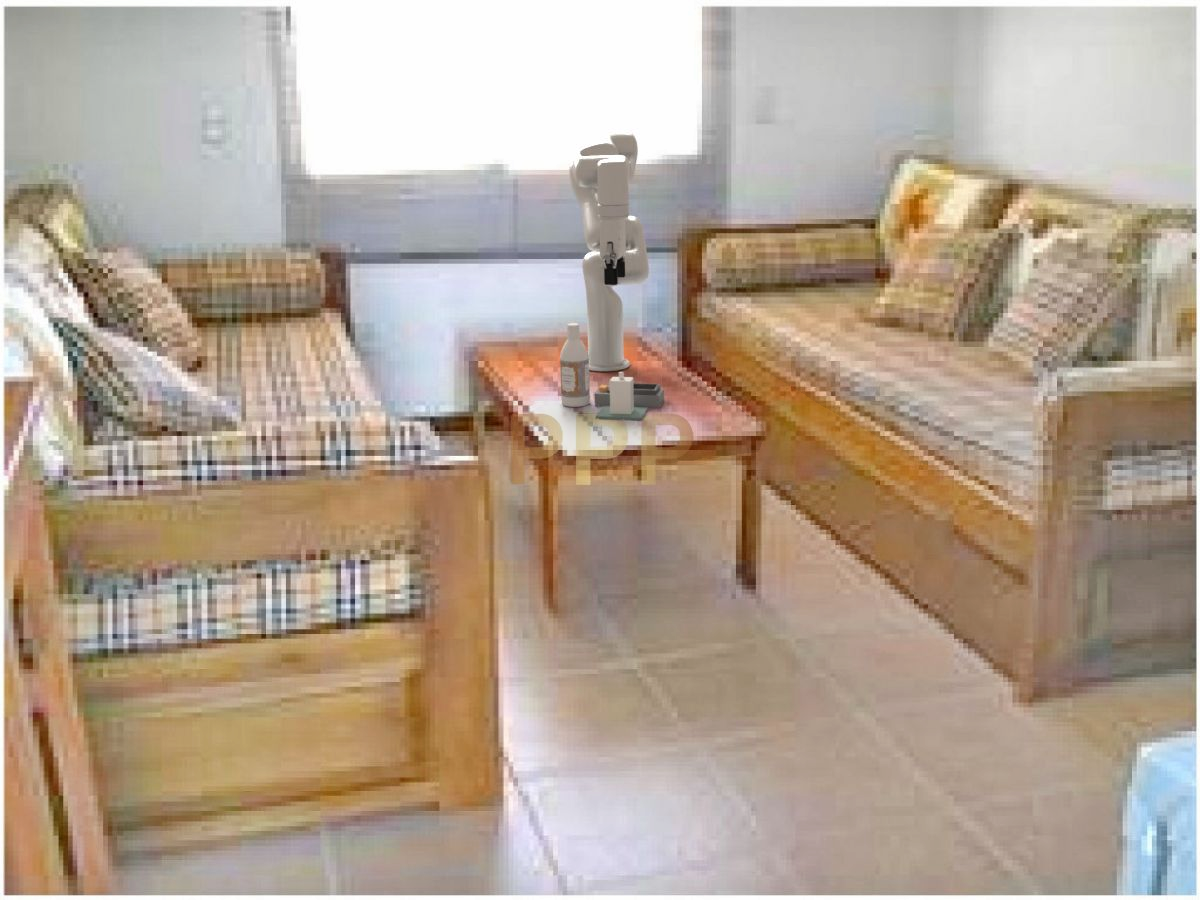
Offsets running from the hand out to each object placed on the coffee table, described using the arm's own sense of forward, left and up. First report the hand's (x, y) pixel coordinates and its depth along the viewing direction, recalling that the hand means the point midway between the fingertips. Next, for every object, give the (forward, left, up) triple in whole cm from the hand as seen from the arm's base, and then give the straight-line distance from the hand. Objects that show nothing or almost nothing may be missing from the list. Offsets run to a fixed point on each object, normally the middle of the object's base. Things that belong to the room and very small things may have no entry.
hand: (615, 280), depth 341 cm
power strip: (+10, +5, -28) cm, 30 cm away
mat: (+20, +5, -28) cm, 35 cm away
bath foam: (+12, -8, -28) cm, 32 cm away
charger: (+20, +5, -28) cm, 34 cm away
